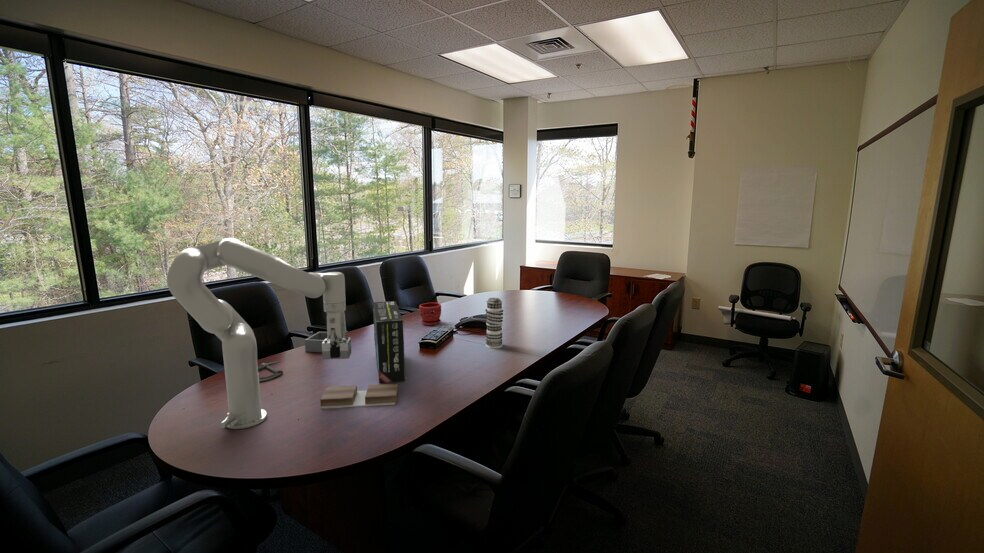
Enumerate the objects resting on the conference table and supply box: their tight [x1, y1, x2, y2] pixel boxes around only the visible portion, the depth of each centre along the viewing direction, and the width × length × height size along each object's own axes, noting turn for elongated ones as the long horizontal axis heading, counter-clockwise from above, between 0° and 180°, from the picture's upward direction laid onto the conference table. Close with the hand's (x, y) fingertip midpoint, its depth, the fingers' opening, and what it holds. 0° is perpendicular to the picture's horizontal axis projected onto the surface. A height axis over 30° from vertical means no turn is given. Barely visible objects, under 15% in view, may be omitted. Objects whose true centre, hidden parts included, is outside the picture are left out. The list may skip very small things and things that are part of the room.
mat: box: [320, 390, 397, 410], centre depth 166 cm, size 26×13×1 cm, turn 98°
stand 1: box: [319, 385, 358, 407], centre depth 165 cm, size 11×11×3 cm
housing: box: [321, 336, 352, 360], centre depth 162 cm, size 6×9×7 cm, turn 98°
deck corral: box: [304, 331, 346, 353], centre depth 223 cm, size 14×14×6 cm
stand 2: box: [365, 383, 399, 404], centre depth 167 cm, size 11×11×3 cm
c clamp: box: [258, 360, 284, 383], centre depth 191 cm, size 20×17×3 cm
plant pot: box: [418, 302, 442, 327], centre depth 269 cm, size 13×13×12 cm
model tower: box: [484, 297, 504, 350], centre depth 227 cm, size 9×9×25 cm
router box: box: [372, 300, 406, 384], centre depth 195 cm, size 36×11×27 cm, turn 17°
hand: (337, 353), depth 162 cm, fingers closed on housing, 6 cm apart
